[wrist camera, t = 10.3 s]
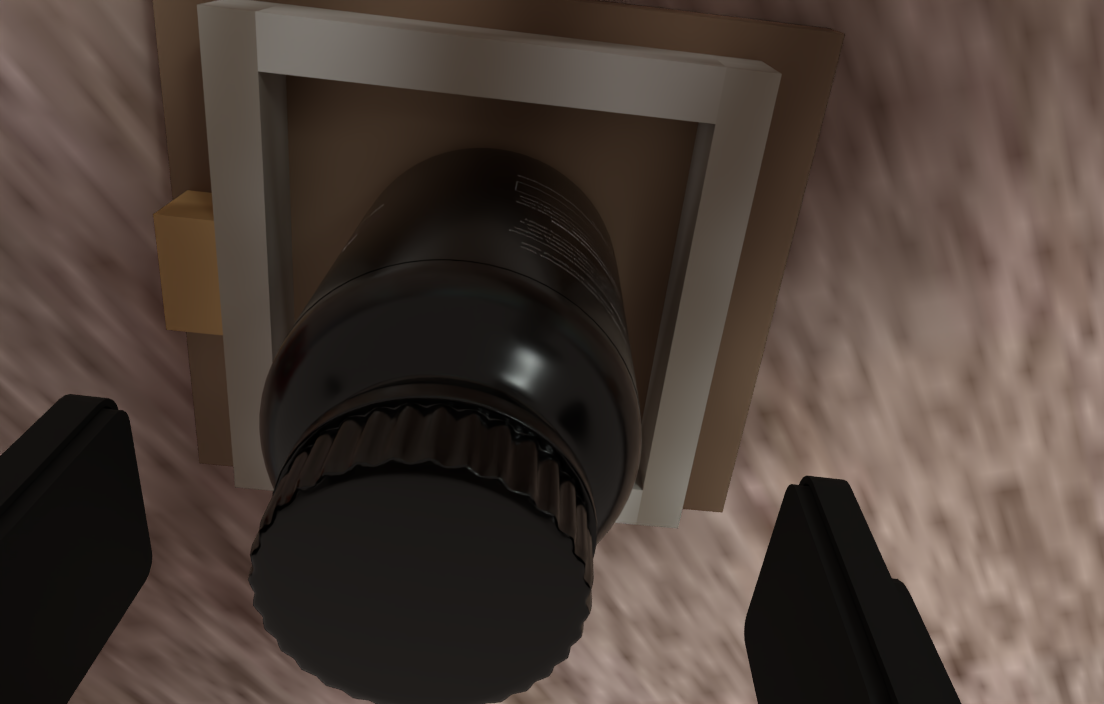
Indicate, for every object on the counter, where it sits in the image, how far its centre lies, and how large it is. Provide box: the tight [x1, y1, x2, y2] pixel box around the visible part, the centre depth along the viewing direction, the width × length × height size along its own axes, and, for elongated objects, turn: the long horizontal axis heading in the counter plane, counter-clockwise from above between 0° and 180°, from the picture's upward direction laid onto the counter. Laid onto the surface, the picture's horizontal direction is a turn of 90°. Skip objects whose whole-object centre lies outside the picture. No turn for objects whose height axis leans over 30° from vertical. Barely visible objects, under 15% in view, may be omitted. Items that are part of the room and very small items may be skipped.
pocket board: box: [152, 0, 845, 528], centre depth 22 cm, size 16×14×3 cm
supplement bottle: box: [248, 148, 642, 704], centre depth 17 cm, size 7×7×12 cm
